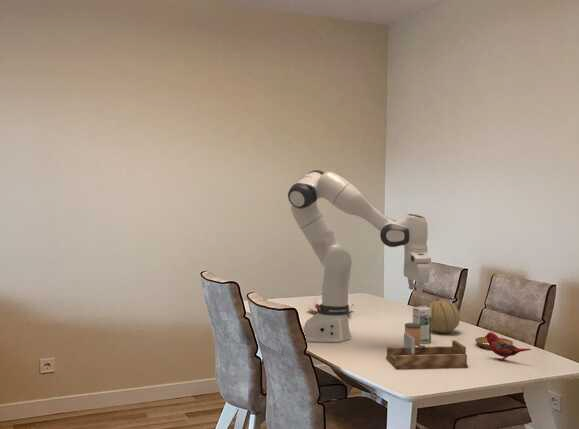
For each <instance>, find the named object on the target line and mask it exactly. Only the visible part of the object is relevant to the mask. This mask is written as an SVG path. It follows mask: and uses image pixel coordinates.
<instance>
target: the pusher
mask: <svg viewBox="0 0 579 429" xmlns="http://www.w3.org/2000/svg"><path fill="white" fill-rule="evenodd" d="M403 347H404V355H415V350H425V347H426V345H420V346H415V339H414V338H413V337H412V336H410V335H409V334H408V333H405V332H404V333H403Z"/></svg>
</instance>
